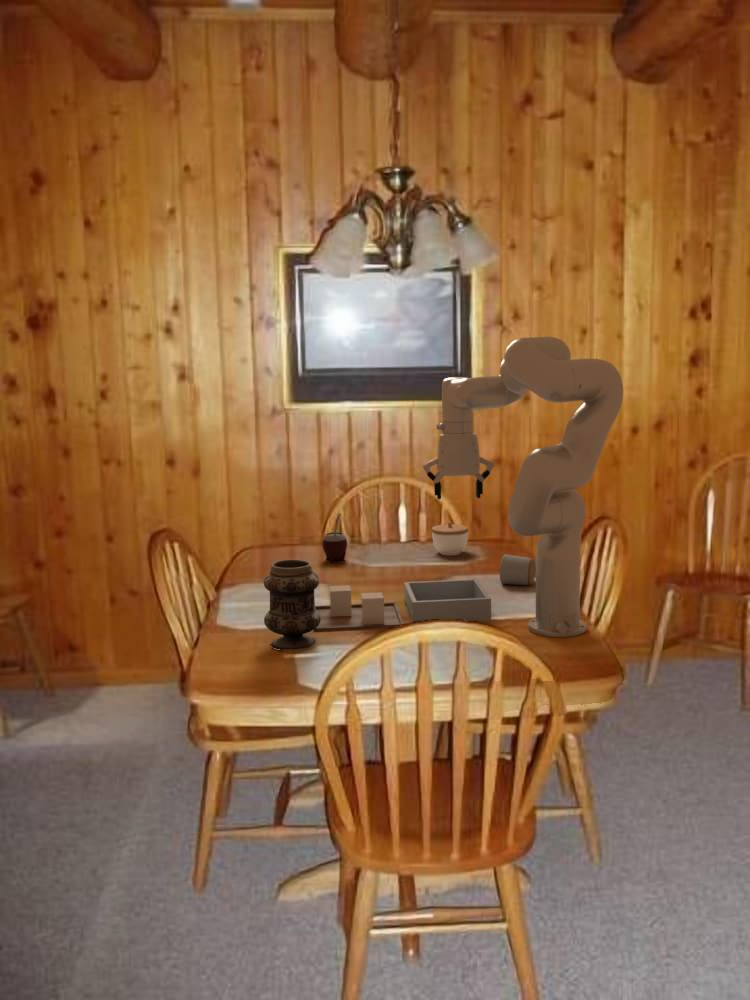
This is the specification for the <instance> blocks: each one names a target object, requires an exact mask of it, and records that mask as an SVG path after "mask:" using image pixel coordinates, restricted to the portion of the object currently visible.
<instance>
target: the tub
mask: <svg viewBox="0 0 750 1000" xmlns="http://www.w3.org/2000/svg"><path fill="white" fill-rule="evenodd" d="M403 584H404V585H403V586H404V587H403V590H404V592H403V593H404V598H403V599H404V602H405V605H406V607H407V610H408V612H409V615H410V618H411V619H412V620H411V621H412V622H425V621H424V620H430V621H432V620H431V619H451V620H461V619H463V620H464V619H465V620H468V621H467V622H474V621H475V620H477V621H479V622H480V621H492V598H491V596H490V595H489V594H488V592H487V591H486V590H485V588H484V586H482V584H481V583H480V581H479V580H478V579H477V578H476V579H475V578H472V579H471V578H470V579H469V578H467V579H448V580H447V579H446V580H424V581H405V582H403ZM477 621H475V622H477Z"/></svg>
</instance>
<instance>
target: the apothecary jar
mask: <svg viewBox="0 0 750 1000" xmlns="http://www.w3.org/2000/svg"><path fill="white" fill-rule="evenodd" d="M319 584H320V577H319V575H318V574H317V573H316V572H315V571H313V568H312V563H311V562H310V561H308V560H304V559H298V558H297V559H294V558H289V559H288V558H287V559H280V560H276V561H273V562H271V565H270V571H269V573H268V574H266V576H264V579H263V585H264V588H265V589H266V590H267V591H269V610H268V611H267V613H265V615H264V618H263V622H264V626H265V627H266V628H267V629H268V630H269V631H271V632H272V633H275V634H278V635H282V636H280V637H278V638H276V639H274V640H273V641H272V642H271V643H270V647H271V646H272V647H273V648H276V649H280V650H284V651H285V650H289V651H291V650H292V651H293V650H301V649H303V650H304V649H307V648H309V647H310V648H311V647H312V646H314V645H315V644H316V642H317V640H316V639H315V638H313V637H310V636H308V635H306V634H308V633H310V632H313V631H314V629H315V628H316V627H317V626H318V625H319V624H320V621H321V616H320V614H319V612H318V611H317V610H316V609H315V606H316V603H315V602H316V601H315V590H316V589H318V586H319ZM273 648H272V649H273Z"/></svg>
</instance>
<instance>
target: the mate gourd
mask: <svg viewBox="0 0 750 1000" xmlns="http://www.w3.org/2000/svg"><path fill="white" fill-rule="evenodd" d="M341 515H342V513H338V515H337V517H336V519H335V522H334V523H335V526H334V532H328V533H326V534H325V535H324V536H323V539H322V549H323V551H324V554H325V556H326V557H325V561H326V560H330V561H329V562H330V563H329V564H333V563H332V562H334V561H336V562H337V561H345V562H346V559H345V557H346V551H347V548H348V541H347V537H346V535H345V533H343V532H339V531H338V530H337V529H338V523H339V518H340V517H341ZM337 531H338V532H337ZM334 563H335V562H334Z"/></svg>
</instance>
